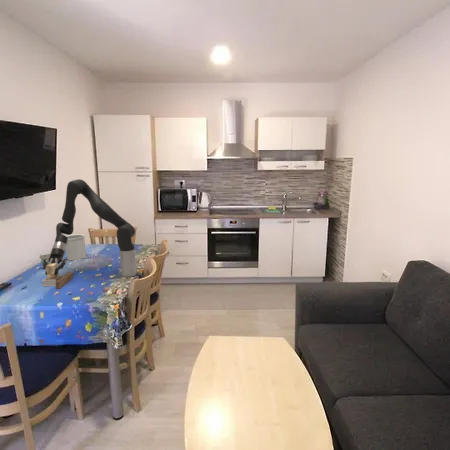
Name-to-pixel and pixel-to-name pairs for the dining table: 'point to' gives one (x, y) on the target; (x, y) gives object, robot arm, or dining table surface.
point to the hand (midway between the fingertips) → (51, 274)
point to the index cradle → (50, 281)
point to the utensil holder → (75, 247)
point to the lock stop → (51, 272)
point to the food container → (44, 258)
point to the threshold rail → (64, 280)
